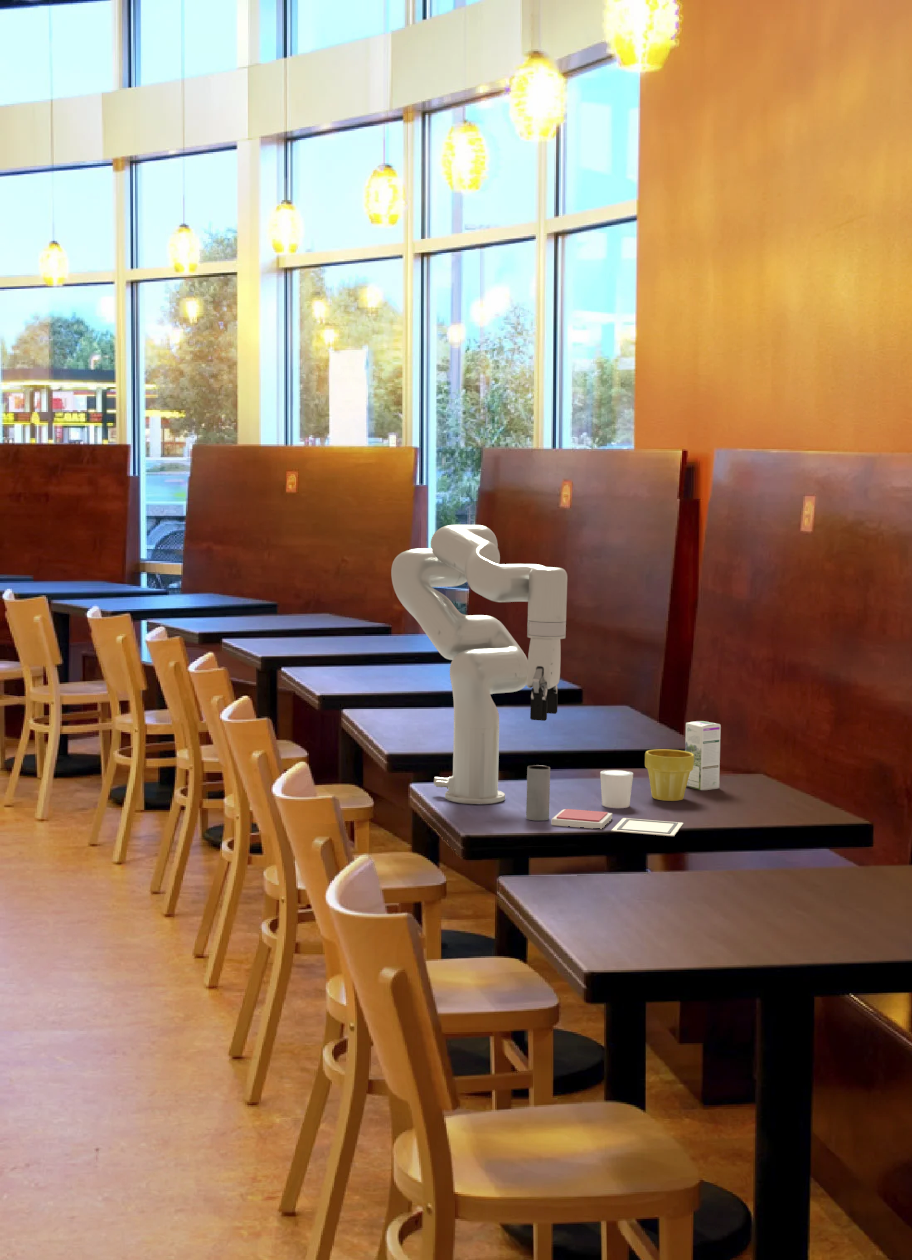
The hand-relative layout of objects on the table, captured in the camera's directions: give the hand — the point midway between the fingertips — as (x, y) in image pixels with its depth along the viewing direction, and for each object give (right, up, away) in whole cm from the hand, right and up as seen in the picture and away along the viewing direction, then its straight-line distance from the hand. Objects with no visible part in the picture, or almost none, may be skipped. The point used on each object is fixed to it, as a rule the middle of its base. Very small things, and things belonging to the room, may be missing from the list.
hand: (543, 716), depth 302 cm
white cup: (+16, -20, +16) cm, 30 cm away
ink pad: (+7, -21, -1) cm, 22 cm away
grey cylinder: (-1, -21, +2) cm, 21 cm away
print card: (+20, -21, -5) cm, 30 cm away
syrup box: (+37, -18, +38) cm, 56 cm away
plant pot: (+28, -19, +25) cm, 42 cm away
